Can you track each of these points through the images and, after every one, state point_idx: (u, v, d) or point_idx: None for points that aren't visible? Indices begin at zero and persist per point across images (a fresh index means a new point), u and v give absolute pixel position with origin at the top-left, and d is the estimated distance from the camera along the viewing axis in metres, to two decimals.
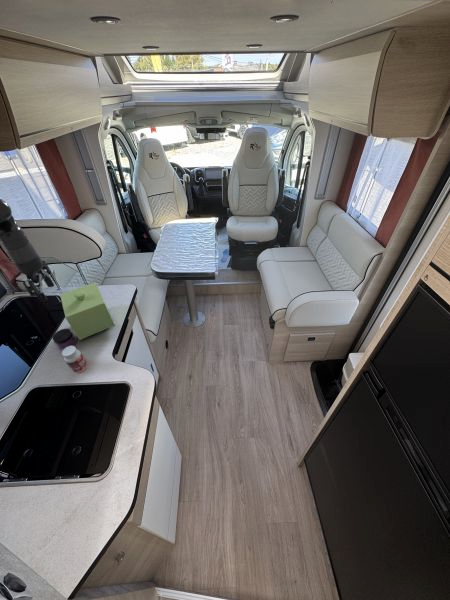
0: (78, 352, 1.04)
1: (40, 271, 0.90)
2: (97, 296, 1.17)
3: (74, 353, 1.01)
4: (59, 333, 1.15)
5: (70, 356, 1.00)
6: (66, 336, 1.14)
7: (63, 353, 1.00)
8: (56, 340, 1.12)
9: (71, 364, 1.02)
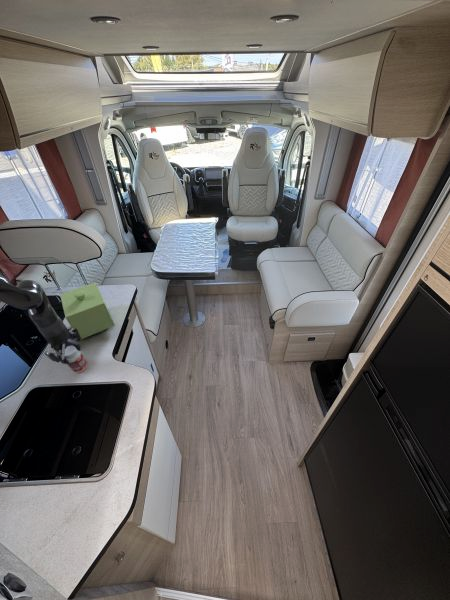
0: (78, 352, 1.04)
1: (66, 340, 0.97)
2: (97, 296, 1.17)
3: (74, 353, 1.01)
4: None
5: (70, 356, 1.00)
6: None
7: None
8: None
9: (71, 364, 1.02)
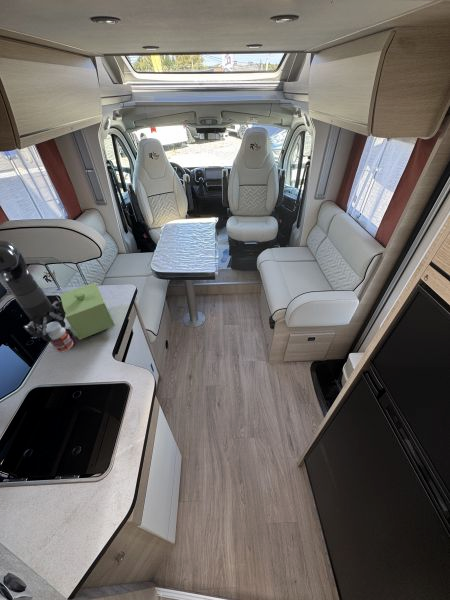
0: (62, 329, 0.94)
1: (48, 313, 0.88)
2: (97, 296, 1.17)
3: (57, 329, 0.91)
4: None
5: (53, 332, 0.91)
6: None
7: None
8: None
9: (54, 341, 0.93)
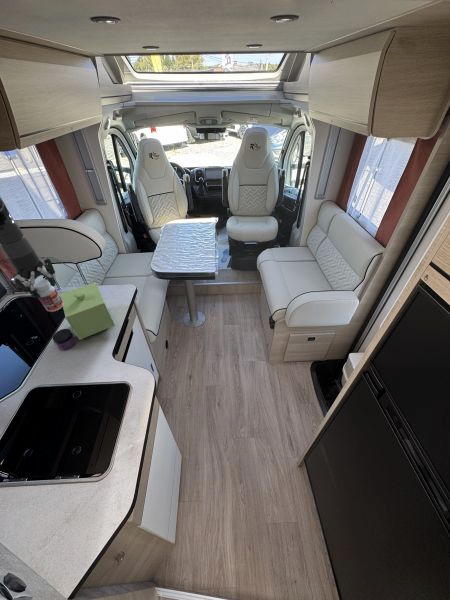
0: (52, 287, 0.92)
1: (36, 268, 0.86)
2: (97, 296, 1.17)
3: (46, 286, 0.90)
4: (59, 333, 1.15)
5: (41, 289, 0.89)
6: (66, 336, 1.14)
7: (34, 285, 0.89)
8: (56, 340, 1.12)
9: (43, 299, 0.91)
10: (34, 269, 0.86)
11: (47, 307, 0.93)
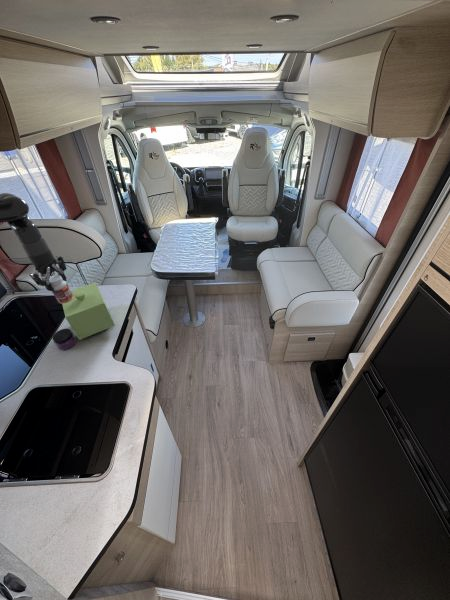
0: (64, 281, 1.05)
1: (51, 265, 0.99)
2: (97, 296, 1.17)
3: (59, 281, 1.02)
4: (59, 333, 1.15)
5: (55, 283, 1.01)
6: (66, 336, 1.14)
7: None
8: (56, 340, 1.12)
9: (56, 292, 1.03)
10: (49, 266, 0.98)
11: (59, 299, 1.06)
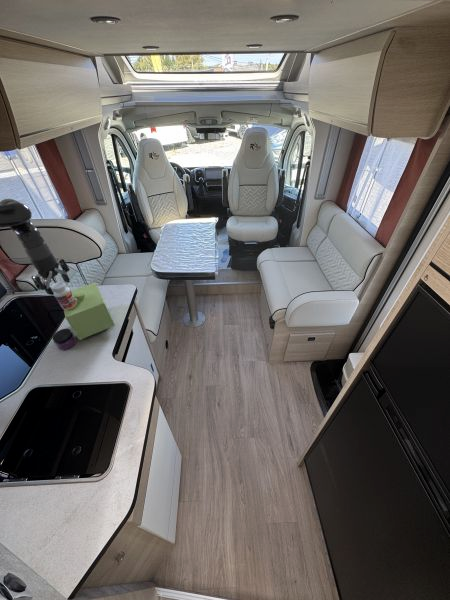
0: (67, 288, 1.07)
1: (53, 269, 1.00)
2: (97, 296, 1.17)
3: (63, 287, 1.05)
4: (59, 333, 1.15)
5: (59, 290, 1.04)
6: (66, 336, 1.14)
7: (52, 287, 1.04)
8: (56, 340, 1.12)
9: (60, 299, 1.06)
10: (52, 269, 1.00)
11: (63, 306, 1.08)
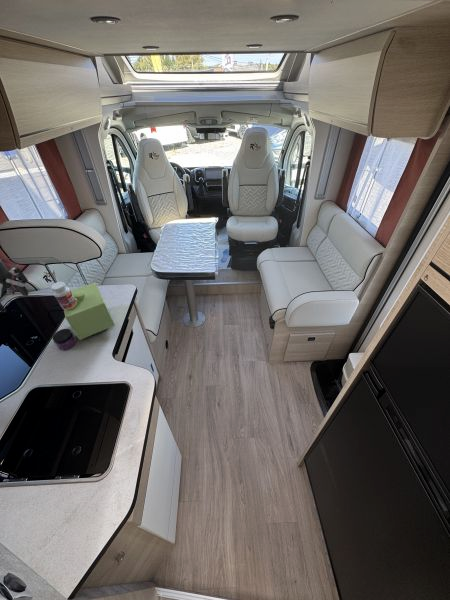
0: (67, 288, 1.07)
1: (4, 280, 0.81)
2: (97, 296, 1.17)
3: (63, 287, 1.05)
4: (59, 333, 1.15)
5: (59, 290, 1.04)
6: (66, 336, 1.14)
7: (52, 287, 1.04)
8: (56, 340, 1.12)
9: (60, 299, 1.06)
10: (2, 281, 0.81)
11: (63, 306, 1.08)
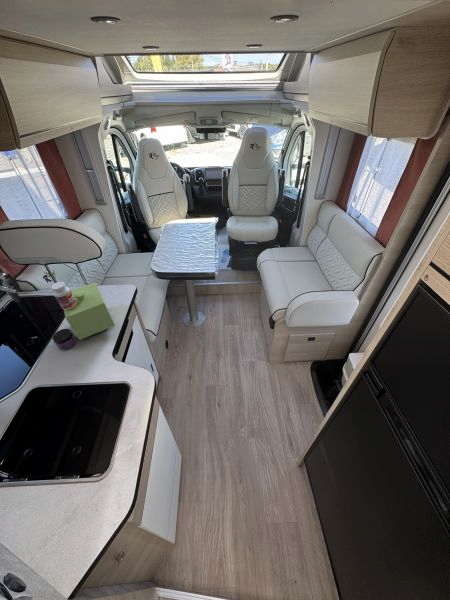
0: (67, 288, 1.07)
1: None
2: (97, 296, 1.17)
3: (63, 287, 1.05)
4: (59, 333, 1.15)
5: (59, 290, 1.04)
6: (66, 336, 1.14)
7: (52, 287, 1.04)
8: (56, 340, 1.12)
9: (60, 299, 1.06)
10: None
11: (63, 306, 1.08)
